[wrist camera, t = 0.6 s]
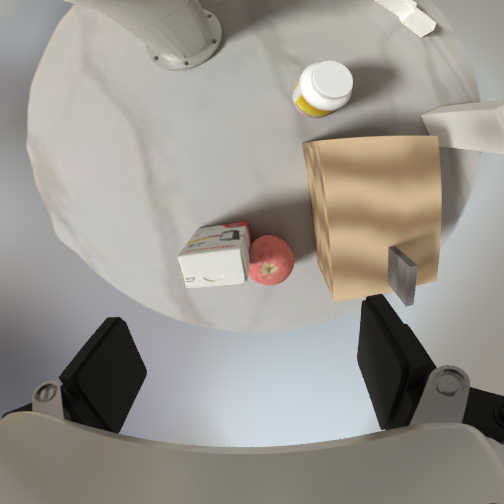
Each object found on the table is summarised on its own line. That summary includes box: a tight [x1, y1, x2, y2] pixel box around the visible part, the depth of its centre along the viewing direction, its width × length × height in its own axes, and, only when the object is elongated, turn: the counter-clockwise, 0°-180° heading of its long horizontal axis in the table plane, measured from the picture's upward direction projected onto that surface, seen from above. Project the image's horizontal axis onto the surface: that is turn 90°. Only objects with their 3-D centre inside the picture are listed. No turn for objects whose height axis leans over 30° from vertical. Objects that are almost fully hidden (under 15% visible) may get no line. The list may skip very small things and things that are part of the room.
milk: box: [421, 101, 504, 155], centre depth 25 cm, size 6×6×22 cm
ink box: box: [178, 221, 252, 288], centre depth 40 cm, size 9×5×12 cm, turn 98°
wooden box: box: [302, 141, 333, 298], centre depth 36 cm, size 20×16×12 cm
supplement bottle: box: [292, 61, 353, 118], centre depth 30 cm, size 7×7×13 cm
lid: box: [318, 136, 442, 306], centre depth 27 cm, size 20×16×7 cm
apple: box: [249, 235, 294, 285], centre depth 42 cm, size 7×7×8 cm
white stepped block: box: [374, 0, 436, 37], centre depth 26 cm, size 15×11×6 cm
